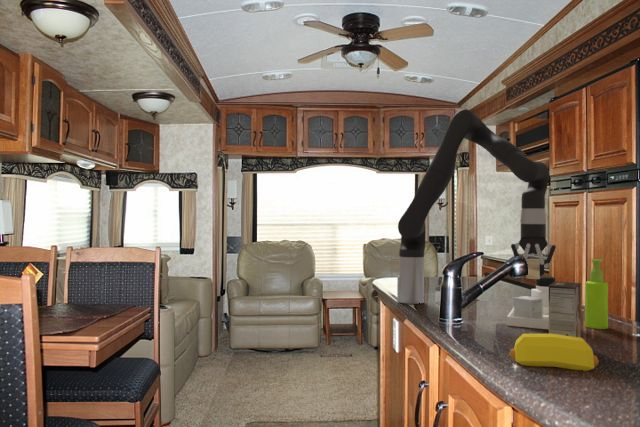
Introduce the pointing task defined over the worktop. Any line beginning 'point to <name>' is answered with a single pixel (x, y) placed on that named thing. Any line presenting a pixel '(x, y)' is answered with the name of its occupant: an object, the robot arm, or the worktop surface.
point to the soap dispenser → (596, 298)
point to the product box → (528, 307)
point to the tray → (529, 320)
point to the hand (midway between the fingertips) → (533, 275)
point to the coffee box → (565, 309)
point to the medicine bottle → (543, 289)
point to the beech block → (533, 269)
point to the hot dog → (554, 351)
